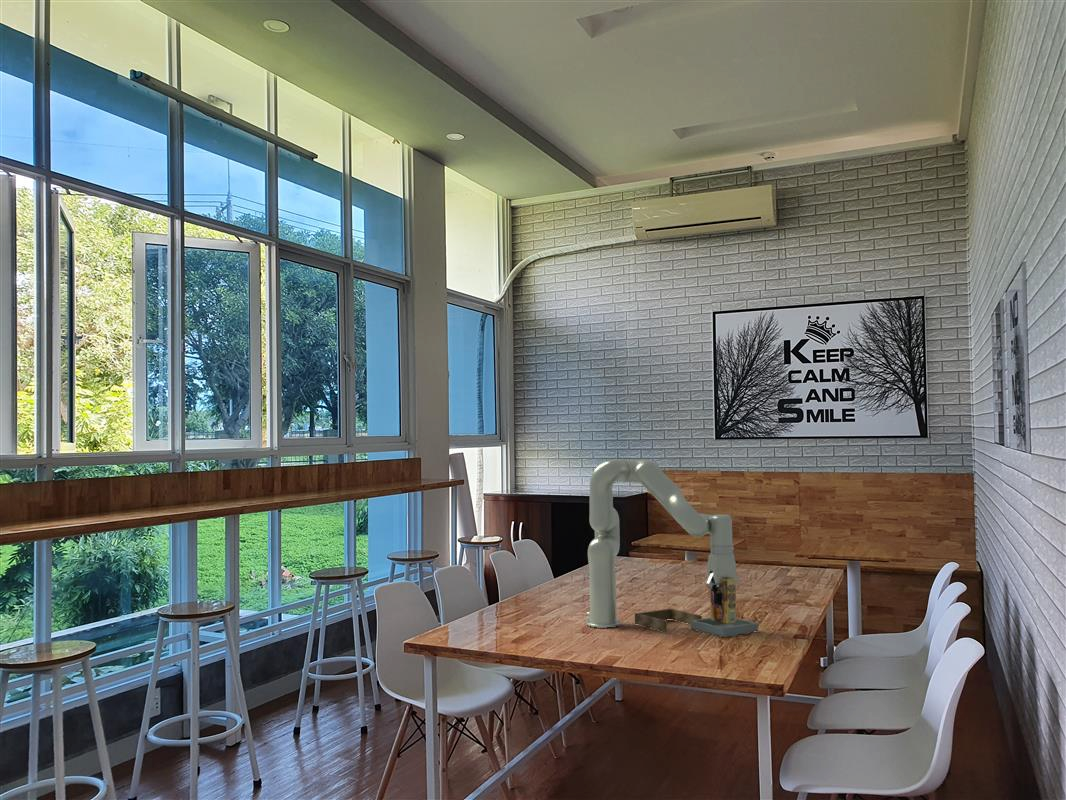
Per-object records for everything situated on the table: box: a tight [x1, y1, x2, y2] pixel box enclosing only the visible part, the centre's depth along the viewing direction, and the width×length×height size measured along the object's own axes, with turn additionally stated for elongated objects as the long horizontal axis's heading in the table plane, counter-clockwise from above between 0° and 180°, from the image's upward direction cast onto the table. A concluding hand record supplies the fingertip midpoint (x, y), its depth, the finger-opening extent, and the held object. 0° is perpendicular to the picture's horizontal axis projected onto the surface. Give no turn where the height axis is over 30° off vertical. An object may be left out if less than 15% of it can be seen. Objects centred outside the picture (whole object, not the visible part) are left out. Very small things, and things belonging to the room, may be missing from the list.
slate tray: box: [690, 617, 759, 638], centre depth 282 cm, size 16×16×3 cm
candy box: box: [709, 578, 737, 624], centre depth 282 cm, size 9×4×15 cm, turn 29°
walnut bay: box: [634, 607, 703, 633], centre depth 291 cm, size 16×17×4 cm
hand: (723, 603), depth 282 cm, fingers closed on candy box, 4 cm apart
